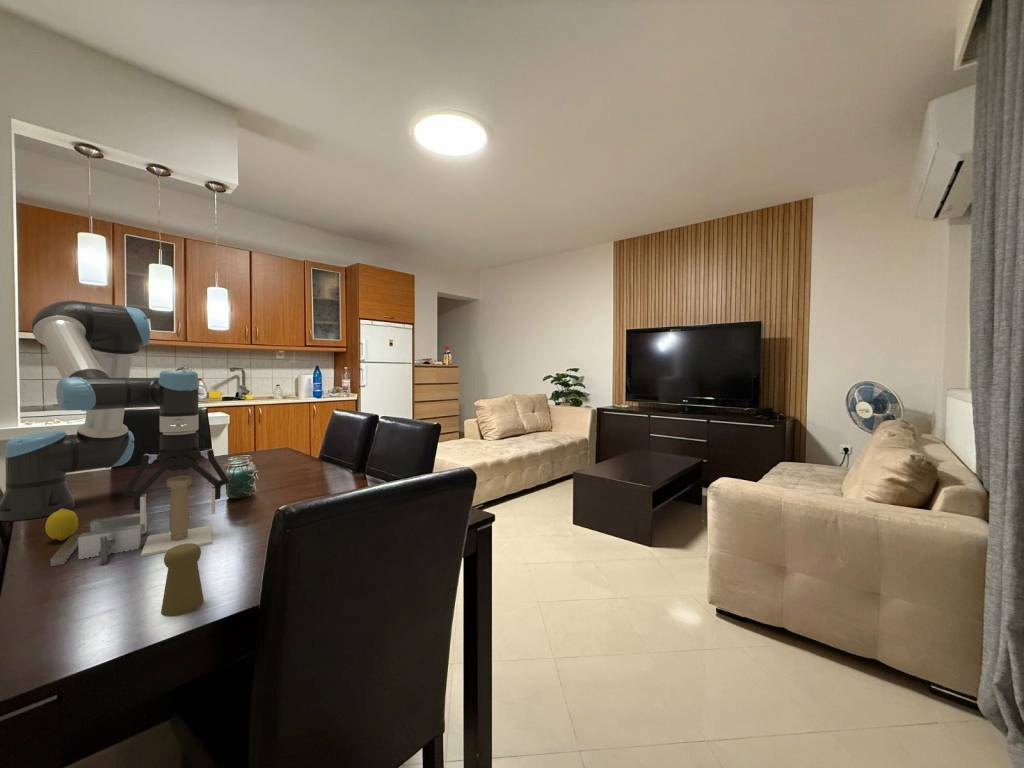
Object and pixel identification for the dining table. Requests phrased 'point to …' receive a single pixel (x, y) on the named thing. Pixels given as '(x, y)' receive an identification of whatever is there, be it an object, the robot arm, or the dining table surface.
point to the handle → (179, 506)
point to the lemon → (61, 524)
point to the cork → (182, 580)
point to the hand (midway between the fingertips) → (179, 517)
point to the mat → (164, 541)
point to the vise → (104, 539)
